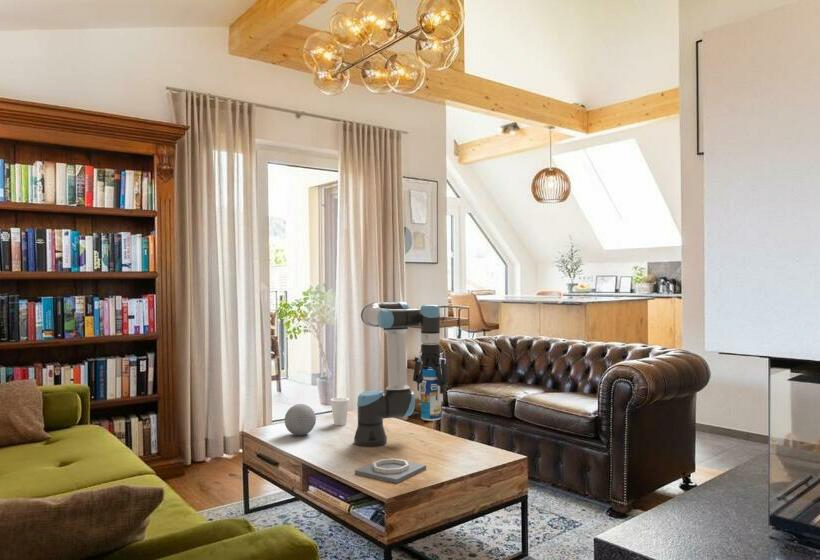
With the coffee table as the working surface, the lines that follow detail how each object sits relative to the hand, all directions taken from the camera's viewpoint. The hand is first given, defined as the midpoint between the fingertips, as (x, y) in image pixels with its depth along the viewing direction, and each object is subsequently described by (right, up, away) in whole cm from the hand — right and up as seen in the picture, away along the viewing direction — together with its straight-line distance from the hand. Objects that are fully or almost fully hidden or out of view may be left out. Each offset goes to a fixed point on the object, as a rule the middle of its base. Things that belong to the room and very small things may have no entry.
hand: (430, 400), depth 242 cm
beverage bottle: (0, -7, 0) cm, 7 cm away
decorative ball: (-62, -28, +53) cm, 86 cm away
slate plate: (-16, -27, -4) cm, 32 cm away
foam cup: (-45, -27, +74) cm, 91 cm away
